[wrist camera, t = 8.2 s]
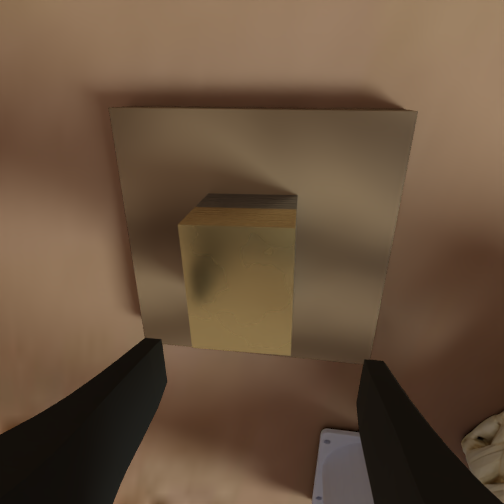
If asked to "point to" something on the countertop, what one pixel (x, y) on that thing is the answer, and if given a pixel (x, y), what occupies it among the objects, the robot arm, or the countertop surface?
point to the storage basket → (487, 454)
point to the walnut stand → (270, 183)
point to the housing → (240, 272)
